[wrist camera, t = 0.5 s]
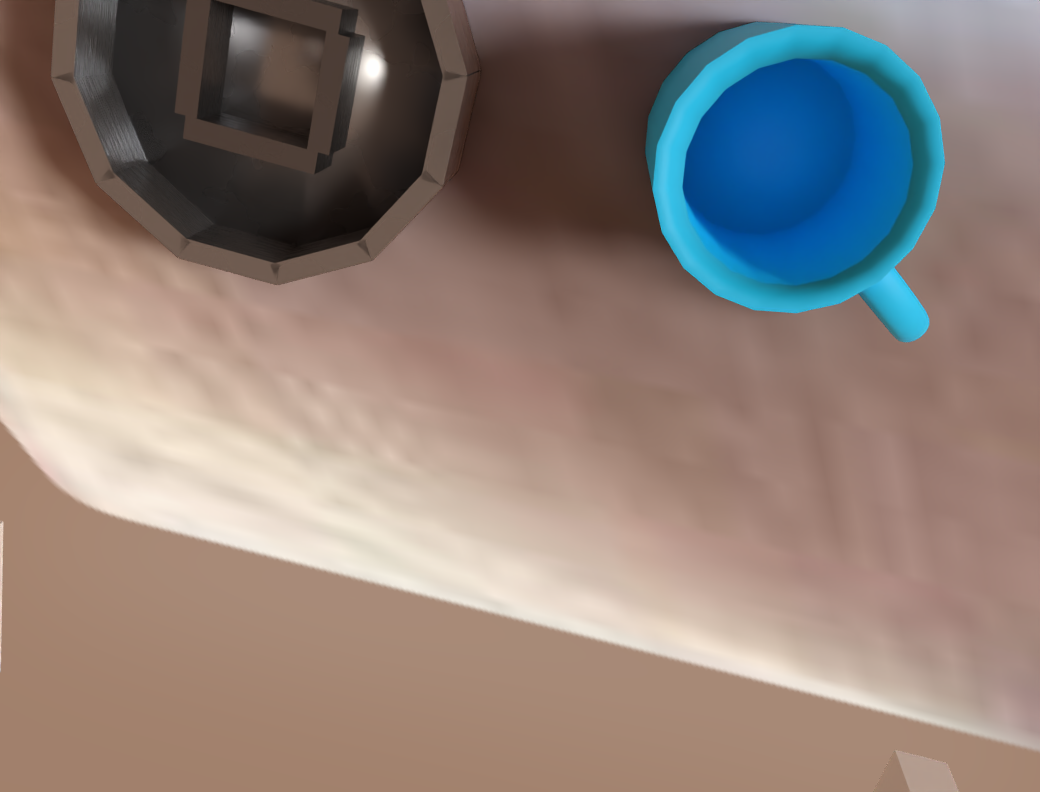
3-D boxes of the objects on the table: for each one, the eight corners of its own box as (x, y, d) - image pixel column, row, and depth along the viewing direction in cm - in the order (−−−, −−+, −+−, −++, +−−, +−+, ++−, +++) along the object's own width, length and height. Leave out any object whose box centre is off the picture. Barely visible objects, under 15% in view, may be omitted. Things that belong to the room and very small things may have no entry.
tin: (122, -193, 33) (68, -215, 30) (516, -83, 33) (505, -93, 30) (90, 202, 38) (42, 220, 35) (429, 296, 38) (412, 322, 35)
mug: (599, 131, 35) (594, 163, 28) (781, -32, 33) (830, -45, 25) (796, 364, 38) (840, 451, 30) (978, 230, 35) (1076, 289, 28)
